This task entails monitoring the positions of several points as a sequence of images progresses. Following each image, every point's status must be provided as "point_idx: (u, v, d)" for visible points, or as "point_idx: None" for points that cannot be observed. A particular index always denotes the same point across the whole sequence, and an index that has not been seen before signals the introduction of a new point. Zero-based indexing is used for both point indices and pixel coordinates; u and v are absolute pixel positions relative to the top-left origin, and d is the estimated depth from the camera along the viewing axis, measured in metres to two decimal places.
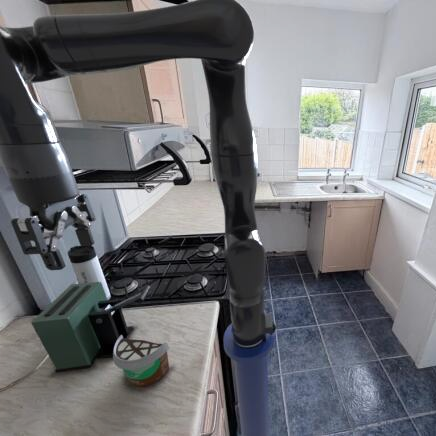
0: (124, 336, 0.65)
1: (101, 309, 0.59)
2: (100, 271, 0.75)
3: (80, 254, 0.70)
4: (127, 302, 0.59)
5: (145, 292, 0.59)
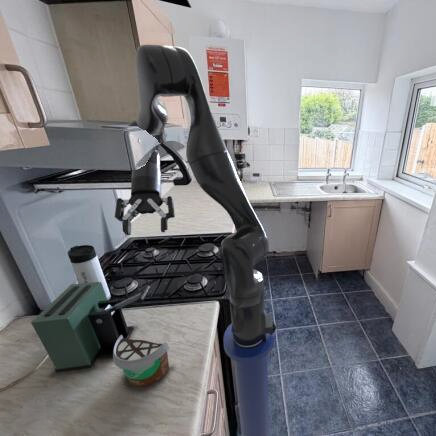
0: (124, 336, 0.65)
1: (101, 309, 0.59)
2: (100, 271, 0.75)
3: (80, 254, 0.70)
4: (127, 302, 0.59)
5: (145, 292, 0.59)
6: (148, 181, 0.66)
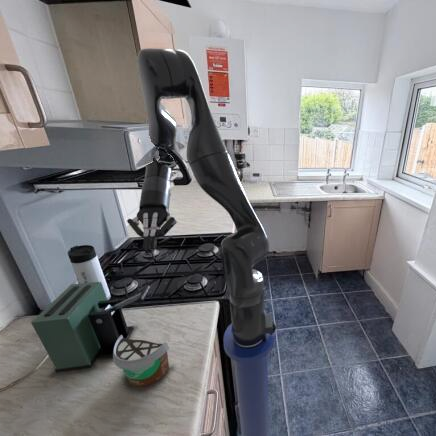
0: (124, 336, 0.65)
1: (101, 309, 0.59)
2: (100, 271, 0.75)
3: (80, 254, 0.70)
4: (127, 302, 0.59)
5: (145, 292, 0.59)
6: (155, 195, 0.66)
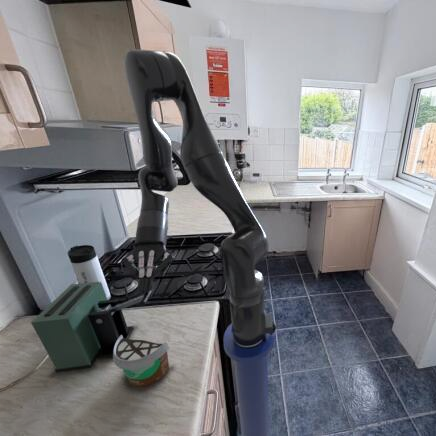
0: (124, 336, 0.65)
1: (101, 309, 0.59)
2: (100, 271, 0.75)
3: (80, 254, 0.70)
4: (129, 304, 0.59)
5: (148, 295, 0.60)
6: (152, 232, 0.62)
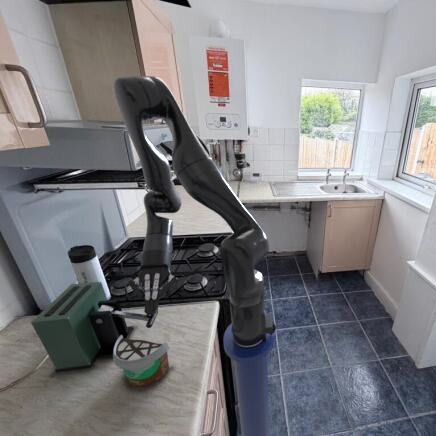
0: (124, 336, 0.65)
1: (105, 308, 0.59)
2: (100, 271, 0.75)
3: (80, 254, 0.70)
4: (133, 317, 0.61)
5: (154, 318, 0.63)
6: (157, 255, 0.65)
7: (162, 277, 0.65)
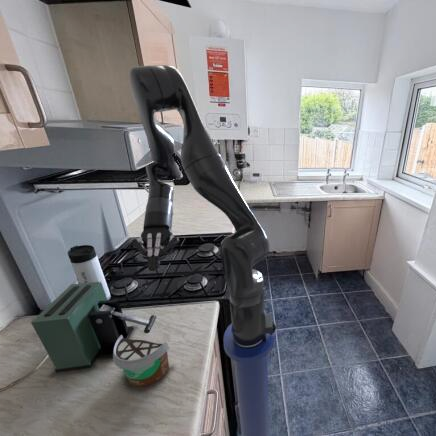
0: (124, 336, 0.65)
1: (106, 308, 0.59)
2: (100, 271, 0.75)
3: (80, 254, 0.70)
4: (132, 320, 0.61)
5: (152, 324, 0.64)
6: (159, 216, 0.69)
7: (163, 236, 0.69)
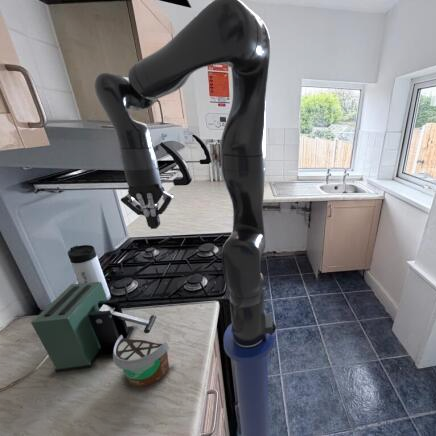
0: (124, 336, 0.65)
1: (106, 308, 0.59)
2: (100, 271, 0.75)
3: (80, 254, 0.70)
4: (132, 320, 0.61)
5: (152, 324, 0.64)
6: (143, 177, 0.57)
7: (155, 196, 0.62)
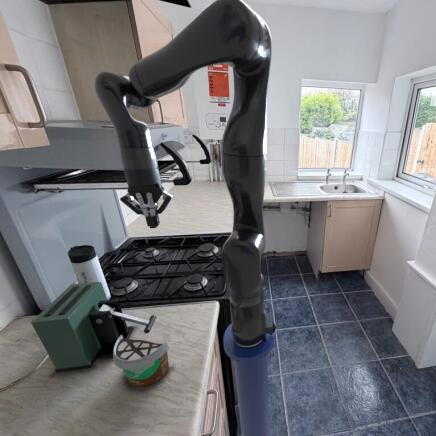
0: (124, 336, 0.65)
1: (106, 308, 0.59)
2: (100, 271, 0.75)
3: (80, 254, 0.70)
4: (132, 320, 0.61)
5: (152, 324, 0.64)
6: (142, 176, 0.57)
7: (155, 195, 0.61)
